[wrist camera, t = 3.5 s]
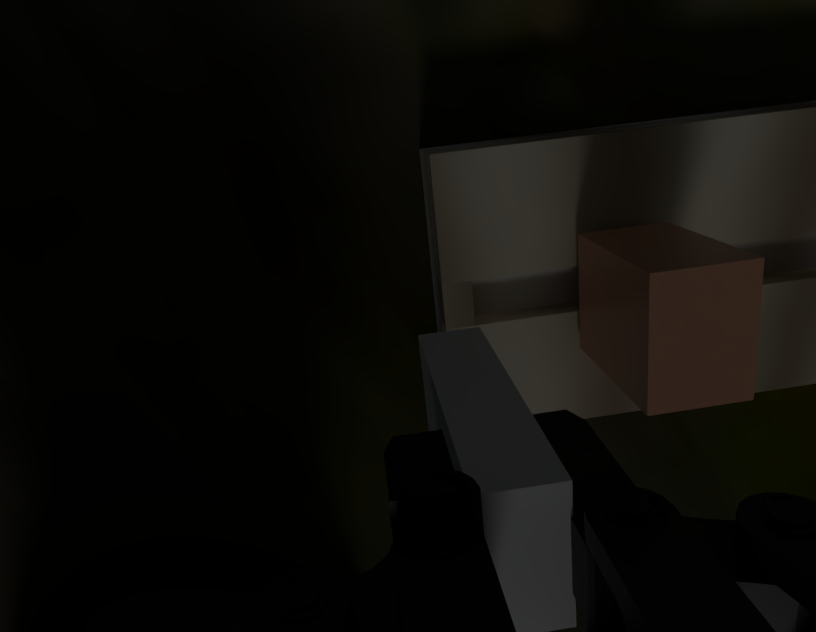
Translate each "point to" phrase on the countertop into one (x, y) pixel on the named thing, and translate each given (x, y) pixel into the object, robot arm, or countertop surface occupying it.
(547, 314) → the panel
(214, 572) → the robot arm
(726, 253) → the fader tab
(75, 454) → the countertop surface
